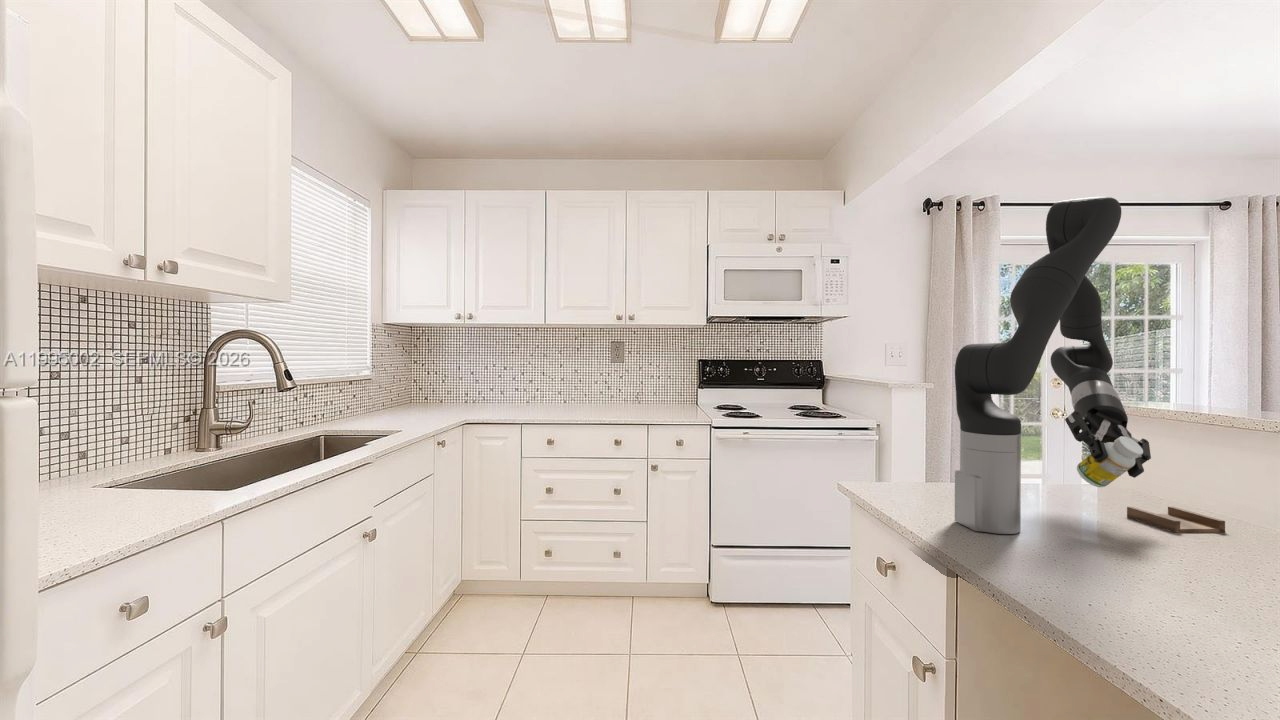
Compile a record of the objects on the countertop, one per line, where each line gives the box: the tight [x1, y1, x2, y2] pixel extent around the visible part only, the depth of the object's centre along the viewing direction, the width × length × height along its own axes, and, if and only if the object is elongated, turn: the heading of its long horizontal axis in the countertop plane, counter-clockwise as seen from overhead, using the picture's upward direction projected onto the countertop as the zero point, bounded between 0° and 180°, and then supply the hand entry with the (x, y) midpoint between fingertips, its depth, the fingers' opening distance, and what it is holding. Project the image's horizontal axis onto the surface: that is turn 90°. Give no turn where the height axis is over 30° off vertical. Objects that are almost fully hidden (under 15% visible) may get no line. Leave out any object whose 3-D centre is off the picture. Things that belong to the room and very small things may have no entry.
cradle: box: [1126, 506, 1226, 533], centre depth 98 cm, size 9×9×2 cm
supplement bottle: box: [1076, 436, 1143, 488], centre depth 97 cm, size 5×5×10 cm
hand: (1119, 466), depth 95 cm, fingers closed on supplement bottle, 5 cm apart
